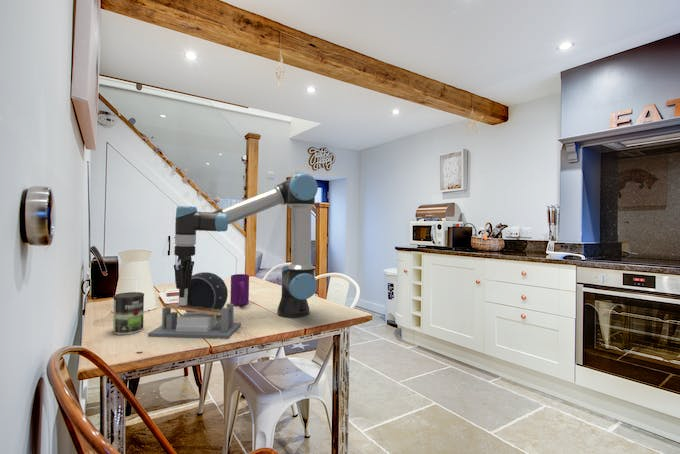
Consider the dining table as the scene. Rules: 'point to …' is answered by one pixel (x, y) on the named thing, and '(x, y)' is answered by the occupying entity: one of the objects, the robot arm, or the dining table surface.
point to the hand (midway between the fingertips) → (182, 304)
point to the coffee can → (128, 313)
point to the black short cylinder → (207, 291)
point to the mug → (239, 289)
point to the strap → (196, 309)
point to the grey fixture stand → (196, 324)
